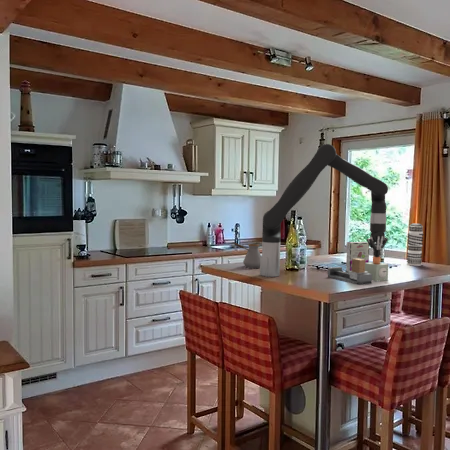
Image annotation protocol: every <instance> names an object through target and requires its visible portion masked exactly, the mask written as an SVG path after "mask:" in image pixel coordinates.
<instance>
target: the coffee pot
mask: <svg viewBox="0 0 450 450" xmlns="http://www.w3.org/2000/svg"><path fill="white" fill-rule="evenodd" d="M232 244H233V245H234V246H237V247H238V248H242V249H244V250H246V251H247V252H246V254H245V257H244V258H243V262H242V263H243V265H244V266H245V267H246V268H247V269H260V257H261V256H262V254H261V252H260V250H259V248H260V247H259V246H260V244H257V243H248V244H247V246H248V248H247V247H244V246H243V245H241V244H239V243H236V242H234V241H233V242H231V244H230V245H232Z"/></svg>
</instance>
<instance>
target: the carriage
mask: <svg viewBox="0 0 450 450" xmlns="http://www.w3.org/2000/svg"><path fill="white" fill-rule="evenodd" d="M347 273H348V274H349V275H350V278H351V279H355V280H357V275H358V274H368V272H365V260H364V259H359V258H355V259H352V271H348V272H347Z"/></svg>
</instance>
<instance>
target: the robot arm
mask: <svg viewBox="0 0 450 450" xmlns="http://www.w3.org/2000/svg"><path fill="white" fill-rule="evenodd" d="M336 150H337V149H336V148H335V147H334V146H333V145H332V144H329V143H325V144H322V145H320V146H319V147H318V149H317V151H316V153H314V156H313V157H312V158H311V160H310V161H309V162H308V164H306V166H304V167H303V168H302V170H301V171H299V172H298V174H297V175H296V176H295V177H294V178H293V179H292V180H291V182H290V183H289V184H288V185H287V187H286V188H285V190H284V191H283V193H282V195H281V196H280V198H279V200H278V201H277V202H276V203H275V204H274V205H273V206H272V207H271V208H270V209H269V210H268V211H267V210H266V212H265V213H264V214H263V216H262V233H261V234H262V238H261V239H262V242H261V243H262V244H261V249H262V250H261V257H260V268H259V275H260V276H263V277H267V278H268V277H269V278H271V277H272V278H273V277H274V278H275V277H280V273H281V268H280V267H281V239H282V238H281V228H282V227H281V225H282V222H283V221H284V219H285V218H286V217H287V215H288V213H289V212H290V211H291V209H293V208H294V206H296V204H298V202H299V201H300V200H301V199H302V198H303V197H304V196H305V195H306V194H307V192H308V191H309V190H310V189H311V187H312V186H313V185H314V183H315V182H316V180H317V178H318V177H319V175H320V174H321V172H322V171H323V170H324V169H325V168H326V167H327V166H328V167H330V168H333V169H335V170H336V171H338V172H339V173H341V174H343V175H344V176H346V177H347V178H348V179H350V180H352V181H353V182H355V183H356V184H358V185H359V186H360V187H363V188H365V189H367V190H369V191H370V196H371V197H370V198H371V206H370V207H371V208H370V209H371V210H370V211H371V212H370V217H369V221H370V222H369V231H370V237H368V238H366V242H368V244H369V248H370V249H373V257H381V250H382V249H384V248H385V246H386V244H387V242H388V241H389V238H388V237H386V235H385V233H386V231H387V202H386V194H388V191H389V187H388V185H387V183H385V182H384V181H382V180H381V179H378V178H377V177H375V176H373V175H371V174H370V173H368V172H367V171H365V170H364V169H362V168H361V167H359V166H358V165H355V164H353V163H351V162H349V161H348V160H346V159H344V158H343V157H341V156H340V155H338V153H337V151H336Z"/></svg>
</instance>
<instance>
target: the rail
mask: <svg viewBox="0 0 450 450" xmlns="http://www.w3.org/2000/svg"><path fill="white" fill-rule="evenodd" d="M327 277H328V278H332V279H335V280H339V281H343V282H347V283H352V284H353V285H359V286H361V285H363V286H364V285H371V284H372V283H373V281H372V274H370V273H369V274H358V275H357V280H355V279H351V278H350V275H349V274H348V272H347V271H343V267H341V266H336V267H335V266H334V267H328V268H327Z"/></svg>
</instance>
